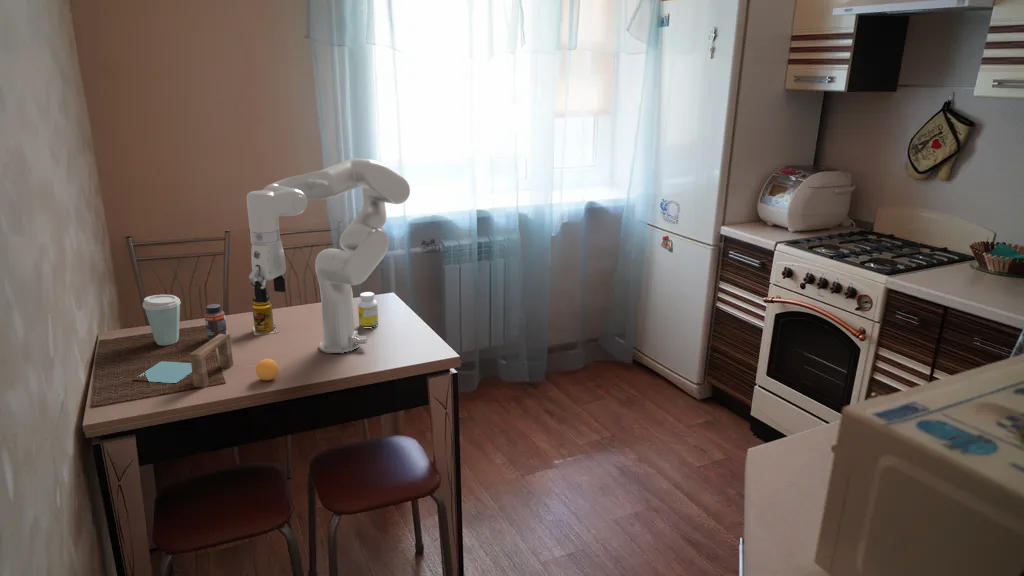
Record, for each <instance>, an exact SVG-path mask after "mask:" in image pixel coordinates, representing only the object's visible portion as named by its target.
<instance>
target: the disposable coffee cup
mask: <svg viewBox="0 0 1024 576" xmlns="http://www.w3.org/2000/svg"><path fill="white" fill-rule="evenodd" d="M181 303H182V302H181V299H180V298H179V297H177V295H173V294H155V295H150V296H146V297H145V298H144V299H143V302H142V308H143V309H144V311H145V314H146V317H147V320H148V324H149V327H150V329H151V332H152V337H153V338H154V342H155V343H156V345H159V346H169V345H173V344H175V343H177V342H178V341H179V338H180V315H181V312H180V311H181Z"/></svg>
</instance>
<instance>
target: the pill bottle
mask: <svg viewBox="0 0 1024 576" xmlns="http://www.w3.org/2000/svg"><path fill="white" fill-rule="evenodd" d="M359 299H360V300H359V301H358V303H357V308H358V309H357V310H358V324H359V327H360V326H361V327H374V326H376V325H378V326H379V312H378V311H379V310H378V309H379V308H378V307H379V306H378V302H377V300H376V299H375V293H374V292H371V291H365V292H361V293H360V294H359ZM361 327H360V328H361Z"/></svg>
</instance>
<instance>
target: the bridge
mask: <svg viewBox="0 0 1024 576" xmlns="http://www.w3.org/2000/svg"><path fill="white" fill-rule="evenodd" d="M215 349H217V354H218V360H219V368H221V369H222V368H225V369H231V368H232V367H233V366H234V358H233V352H232V343H231V335H230V334H228V333H227V334H219V335H217V336H216V337H214V338H213V339H212V340H210V341H209V340H208V341H207V342H206V343H204V344H202V345H201V346H199V347H198V348H197V349H195V350H194V351H192V352H190V353H189V359H190V363H191V366H192V373H191V374H192V379H193V385H194V386H193V387H194V388H203V389H205V388H206V387H208V386H207V385H208V384H209V375H208V370H207V369H208V368H207V362H206V361H207V360H206V356H207V355H209V354H210V353H212V351H214V350H215Z"/></svg>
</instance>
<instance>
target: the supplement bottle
mask: <svg viewBox="0 0 1024 576" xmlns="http://www.w3.org/2000/svg"><path fill="white" fill-rule="evenodd" d="M226 321H227V320H226V314H225V311H224V310H222V309H221V305H220V304H219V303H212V304H209V305H208V304H207V306H206V312H205V314H204V322H205V328H206V336H207V340H208V342H209V341H210V340H212V339H213V338H214V337H216V336H217V335H219V334H228V329H227V322H226Z"/></svg>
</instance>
